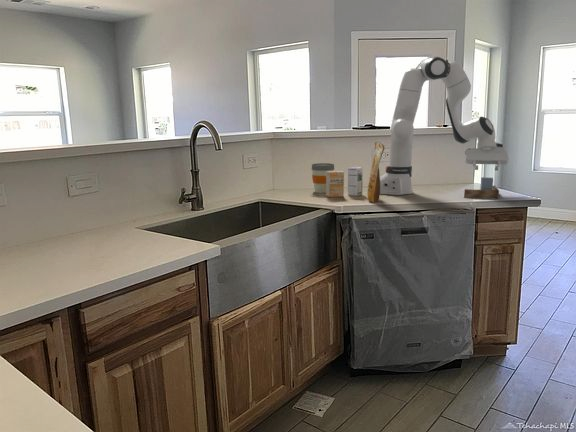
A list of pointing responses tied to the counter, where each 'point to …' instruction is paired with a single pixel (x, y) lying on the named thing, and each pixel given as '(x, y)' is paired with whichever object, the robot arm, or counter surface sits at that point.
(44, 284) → the counter surface
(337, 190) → the supplement box
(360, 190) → the syrup box
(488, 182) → the slate block
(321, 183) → the reusable coffee cup
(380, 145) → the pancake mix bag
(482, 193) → the brown wooden tray
